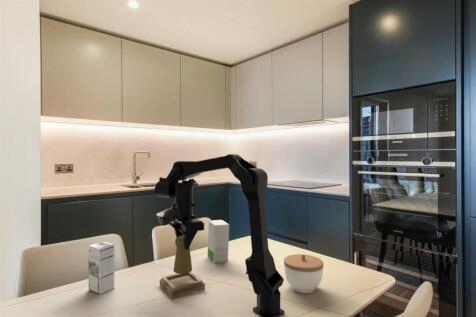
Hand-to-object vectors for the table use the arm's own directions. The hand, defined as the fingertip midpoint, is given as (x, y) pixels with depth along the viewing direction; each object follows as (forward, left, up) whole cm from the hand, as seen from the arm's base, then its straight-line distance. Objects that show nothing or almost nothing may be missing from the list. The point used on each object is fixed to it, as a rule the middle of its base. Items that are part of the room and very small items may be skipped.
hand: (183, 247), depth 96 cm
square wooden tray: (0, 0, -13) cm, 13 cm away
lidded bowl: (-22, -33, -13) cm, 42 cm away
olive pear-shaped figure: (0, 0, -8) cm, 8 cm away
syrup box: (+13, +22, -13) cm, 29 cm away
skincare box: (+16, -23, -13) cm, 31 cm away
